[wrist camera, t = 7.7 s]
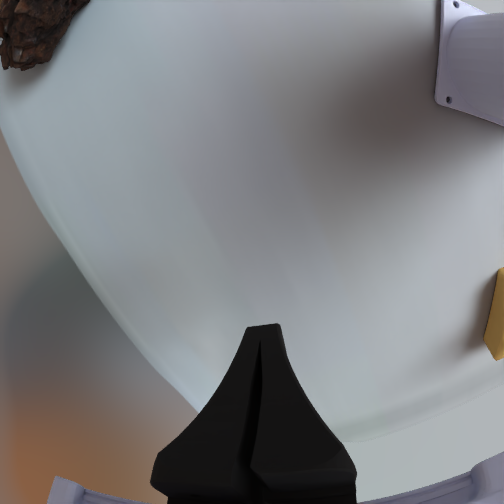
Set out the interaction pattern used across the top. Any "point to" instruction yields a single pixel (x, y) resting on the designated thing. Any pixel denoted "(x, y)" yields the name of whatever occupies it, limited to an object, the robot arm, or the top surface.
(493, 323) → the rubber stamp
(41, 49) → the brown rock
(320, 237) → the top surface
